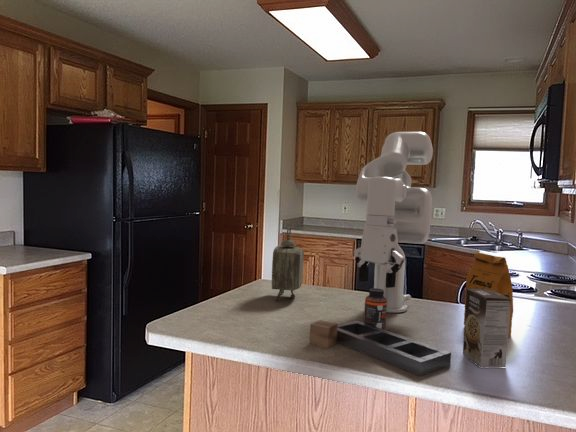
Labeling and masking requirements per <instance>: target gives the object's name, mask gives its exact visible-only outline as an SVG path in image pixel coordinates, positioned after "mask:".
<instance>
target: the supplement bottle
mask: <svg viewBox="0 0 576 432" xmlns="http://www.w3.org/2000/svg"><path fill="white" fill-rule="evenodd" d="M368 294H369V295H367V296H366V297H365V299H364V300H365V301H364V317H363V323H366V324H369V325H372V326H375V327H378V328H381V329H383V330H386V321H387V312H386V309H387V300H386V298H384V296H383V295H384V290H382V289H377V288H374V287H372V288H369V290H368Z"/></svg>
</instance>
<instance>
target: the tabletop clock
mask: <svg viewBox="0 0 576 432" xmlns="http://www.w3.org/2000/svg"><path fill="white" fill-rule="evenodd" d="M286 229H287V230H286V239H284V240H282V241H281V244H280V245H277V246H275V247H274V249H273V252H272V263H271V266H272V267H271V289H272V290H279V291H278V293H277V295H275V297H274V301H276V302H279V301H280V296H281V295H283V294H285V291H290V293H291V294H290V298H291V299H292V300H293V299H295V298H296V294H294V292H295V291H296V290H298V289H301V287H302V284H303V279H304V255H305V253H304V252H305V249H302V248H300V247H298V246H296V243H295V241H294V240H292V239H291V234H292V233H291V231H292V229H291V225H290V226H288V227H287V228H286Z"/></svg>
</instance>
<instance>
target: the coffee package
mask: <svg viewBox="0 0 576 432" xmlns="http://www.w3.org/2000/svg"><path fill="white" fill-rule="evenodd" d="M473 255H474V256H473V257H474V258H475V259H474V262H473V264H472V266H471V268H470V270H469V272H468V274H467V276H466V278H465V295H464V298H465V300H464V313H463V316H464V318H463V319H464V320H463V325H464V326H465V310H466V295H467V289H484V290H493V291H495V292H497V293H499V294H502V295H504V296H506V297H508V298H511V309H510V321H509V333H508V338H509V337H512V327H513V326H512V324H513V316H514V297H513V296H514V295H513V293H514V291H513V282H512V279H511V274H510V269H509V266H508V263H507V262H508V261H507V259H506V257H503V256H496V255H492V254H487V253H483V252H479V251H477V252H475V253H474V254H473Z"/></svg>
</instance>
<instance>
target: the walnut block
mask: <svg viewBox="0 0 576 432" xmlns="http://www.w3.org/2000/svg"><path fill="white" fill-rule="evenodd" d="M338 324H339V323H336V322H332V321H327V320H322V319H319V320H317V321H314V322H312V323H310V327H309V328H310V329H309V344H310V345H314V346H317V347H322V348H326V349H328V348H330V347H332V346H333V345H335V344H337V343H338V342H337V326H338Z"/></svg>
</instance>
